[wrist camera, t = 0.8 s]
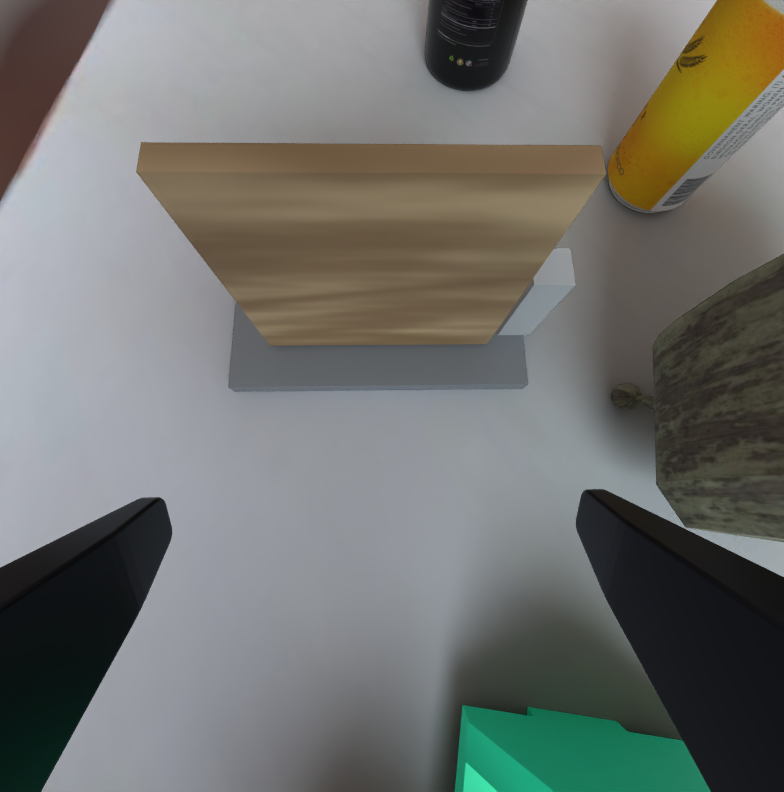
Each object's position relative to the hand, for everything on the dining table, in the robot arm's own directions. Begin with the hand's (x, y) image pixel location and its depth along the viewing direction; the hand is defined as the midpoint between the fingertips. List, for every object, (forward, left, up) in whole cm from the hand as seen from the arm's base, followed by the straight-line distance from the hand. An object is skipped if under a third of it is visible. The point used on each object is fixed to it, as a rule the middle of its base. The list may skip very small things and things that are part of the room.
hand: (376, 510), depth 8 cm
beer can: (+29, -1, -15) cm, 33 cm away
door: (+7, +6, -13) cm, 16 cm away
